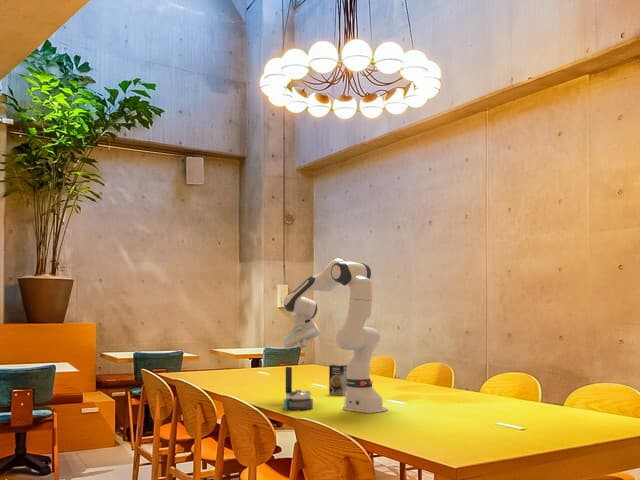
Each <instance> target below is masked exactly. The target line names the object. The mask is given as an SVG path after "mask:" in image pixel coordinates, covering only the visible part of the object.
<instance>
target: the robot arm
mask: <svg viewBox="0 0 640 480" xmlns="http://www.w3.org/2000/svg"><path fill="white" fill-rule="evenodd" d="M371 271H372V270H371V268H370V266H369V265H368V264H366V263H363V262H354V261H345V260H343V259H341V258H335V259H332V261H330V262H329V263H328V264H326V266H325V267H324V269H322V271H321V272H319V273H317V274H315V275H311V276H309V277H308V278H307V279H305V280H304V281H303V282H302V283H300V285H298V286H297V287H296V288H295V289H294V290H293V291H291V292H290V293H287V295H286V296H285V297H284V300H283V307H284V309H285V310H286V311H287V312H290V322H291V331H292V332H290V333H287V334H285V335H284V336H283V338H282V339H283V341H282V343H283V347H284V348H285V349H286V350H290V349H291V348H294V347H296V346H299V348H300V349H303V348H305V347H307V346H306V345H307V343H308V341H310V340H312V339H314V338H316V337H318V336H320V335H321V332H320V329H319V327H318V326H317V324H316V322H315V321H314V318H315V317H316V315H317V313H318V305H317V302H316V301H315V300H312V299H310V298H307V297H304V296H305V295H306V294H307V293H308V292H311V291H321V292H332V291H334V290H335V289H336V288H338V286H339V285H340V284H341V285H343V286H348V287H349V302H348V312H347V316H346V319H345V321H344V324H343V325H342V327H341V329H340V330H338V331H337V332H336V335H335V343H336V345H337V347H338V348H339V349H341V350H345V351H353V353H352V355H351V357H350V358H349V359H348V361H347V362H346V365H347V378H346V386H347V389H346V393H345V395H344V405H343V406H342V410H344V411H351V412H357V413H364V414H373V413H381V412H386V411H389V410H388V408H387V407H385V406H383V399H382V396H381V395H380V394H379V393H378V392H377V391H376V389H375V388H374V387H373V384H374V380H371V377H370V375H371V374H370V373H371V372H370V371H371V370H370V367H371V366H370V364H371V360H372V356H373V354H374V353H373V352H374V350H375V348H376V347H377V346H378V345H379V343H380V337H381V336H380V333H379V331H378V330H377V329H376V328H375V327H370V326H365V324H366V322H367V320H369V318H371V316H372V308H373V307H372V305H373V303H372V302H373V286H372V285H373V284H372V281H371V277H372V272H371Z"/></svg>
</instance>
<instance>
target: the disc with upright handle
mask: <svg viewBox="0 0 640 480" xmlns="http://www.w3.org/2000/svg"><path fill="white" fill-rule="evenodd" d="M292 373H293V367H292V366H285V399H289V401H308V400H311V399H312V395H311V393H312V392H311V391H310V390H305V391H302V389H295V390H294V391H293V389H292V388H293V379H292V378H293V374H292Z"/></svg>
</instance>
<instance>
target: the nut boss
mask: <svg viewBox="0 0 640 480" xmlns="http://www.w3.org/2000/svg"><path fill="white" fill-rule="evenodd" d="M313 403H314V399H313V398H311V400H308V401H289V399H286V398H284V399H283V409H284V410H285V411H295V410H300V411H310V410H313V407H314V404H313Z"/></svg>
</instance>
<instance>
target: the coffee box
mask: <svg viewBox="0 0 640 480" xmlns="http://www.w3.org/2000/svg"><path fill="white" fill-rule="evenodd" d="M328 370H329V371H328V373H329V376H328V377H329V378H328V381H329V382H328V384H329V385H328V387H329V389H328V390H329V391H328V395H330V396H331V395H332V396H344V397H345V393H346V389H347V386H346V378H347V364H346V365H345V364H343V365H342V364H329V369H328Z"/></svg>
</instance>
